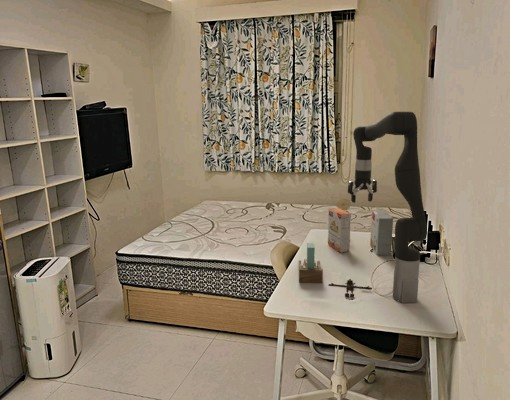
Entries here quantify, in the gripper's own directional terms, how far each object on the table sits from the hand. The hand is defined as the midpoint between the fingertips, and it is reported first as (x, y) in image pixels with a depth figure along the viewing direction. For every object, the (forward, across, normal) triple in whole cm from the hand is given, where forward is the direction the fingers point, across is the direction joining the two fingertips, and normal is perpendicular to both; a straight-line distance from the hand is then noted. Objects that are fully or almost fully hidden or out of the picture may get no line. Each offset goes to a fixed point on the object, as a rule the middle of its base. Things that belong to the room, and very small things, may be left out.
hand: (361, 201), depth 207 cm
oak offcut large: (+28, -30, -9) cm, 42 cm away
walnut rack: (+30, -32, -13) cm, 45 cm away
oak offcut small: (+26, -30, -9) cm, 41 cm away
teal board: (+28, -33, -17) cm, 47 cm away
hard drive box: (+30, +17, +8) cm, 35 cm away
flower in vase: (+30, +4, +31) cm, 43 cm away
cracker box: (+30, -3, +18) cm, 35 cm away
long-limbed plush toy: (+30, -22, -33) cm, 50 cm away
